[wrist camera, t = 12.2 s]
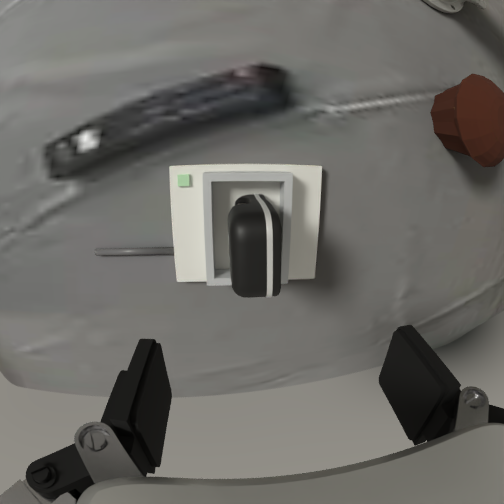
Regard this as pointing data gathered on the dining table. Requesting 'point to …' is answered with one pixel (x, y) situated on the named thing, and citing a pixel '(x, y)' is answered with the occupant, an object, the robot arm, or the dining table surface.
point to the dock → (218, 207)
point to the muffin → (472, 119)
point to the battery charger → (254, 247)
